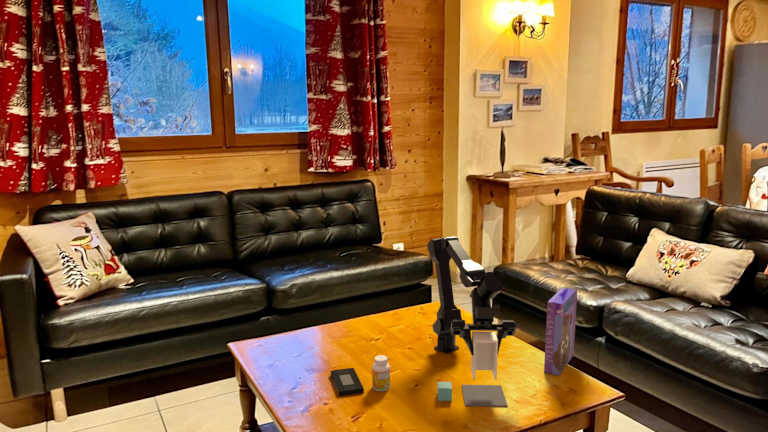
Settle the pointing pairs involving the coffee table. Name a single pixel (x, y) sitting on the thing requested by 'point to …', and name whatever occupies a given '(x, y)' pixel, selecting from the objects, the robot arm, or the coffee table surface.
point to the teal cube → (444, 391)
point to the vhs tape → (347, 382)
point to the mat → (484, 395)
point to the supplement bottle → (381, 373)
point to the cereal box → (560, 330)
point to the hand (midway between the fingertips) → (484, 355)
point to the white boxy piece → (484, 352)
